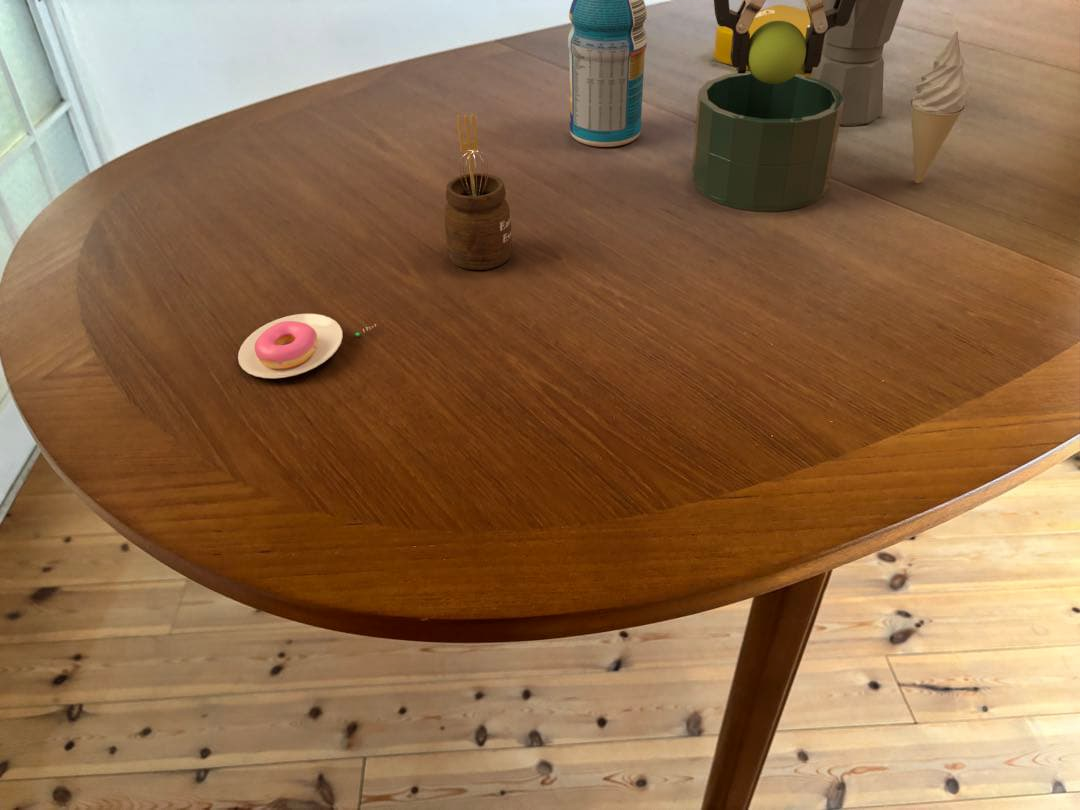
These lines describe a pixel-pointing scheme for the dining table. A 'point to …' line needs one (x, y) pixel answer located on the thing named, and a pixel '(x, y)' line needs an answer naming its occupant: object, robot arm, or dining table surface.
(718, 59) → the element tile
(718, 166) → the pot
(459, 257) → the utensil holder
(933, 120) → the ice cream cone
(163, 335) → the dining table surface
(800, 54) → the guava
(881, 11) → the coffeepot
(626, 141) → the beverage bottle
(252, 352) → the donut
